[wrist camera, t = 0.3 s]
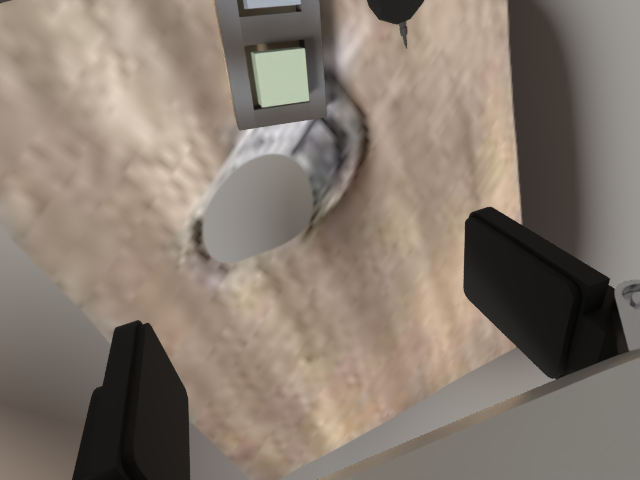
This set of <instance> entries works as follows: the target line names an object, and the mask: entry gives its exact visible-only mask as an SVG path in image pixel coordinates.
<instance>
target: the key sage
mask: <svg viewBox="0 0 640 480" xmlns="http://www.w3.org/2000/svg"><path fill="white" fill-rule="evenodd" d="M251 57H252V64H253V70H254V77H255V84H256V90H257V97H258V103H259V104H260V105H261V106H262V107H269V106H276V105H283V104H291V103H298V102H305V101H309V91H308V79H307V68H306V56H305V48H302V47H291V48H282V49H273V50H264V51H255V52H251Z"/></svg>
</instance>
